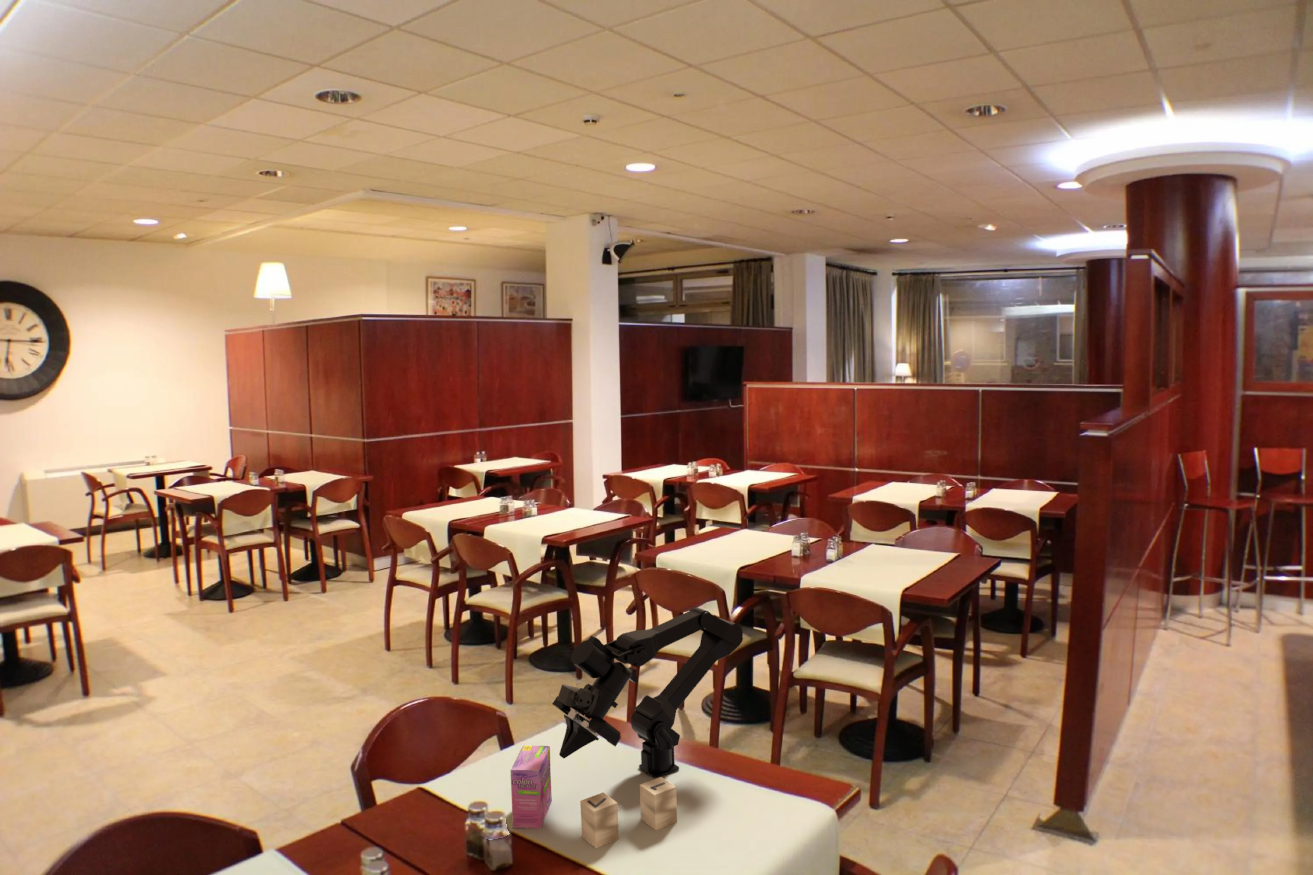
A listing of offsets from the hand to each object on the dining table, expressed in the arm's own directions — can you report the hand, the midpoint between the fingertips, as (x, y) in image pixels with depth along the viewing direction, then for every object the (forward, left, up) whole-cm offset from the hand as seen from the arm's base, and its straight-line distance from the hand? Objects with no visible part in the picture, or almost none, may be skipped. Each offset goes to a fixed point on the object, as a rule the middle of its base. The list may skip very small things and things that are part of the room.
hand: (561, 756), depth 172 cm
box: (+7, 0, -10) cm, 12 cm away
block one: (-12, +17, -10) cm, 23 cm away
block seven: (0, +15, -10) cm, 18 cm away
